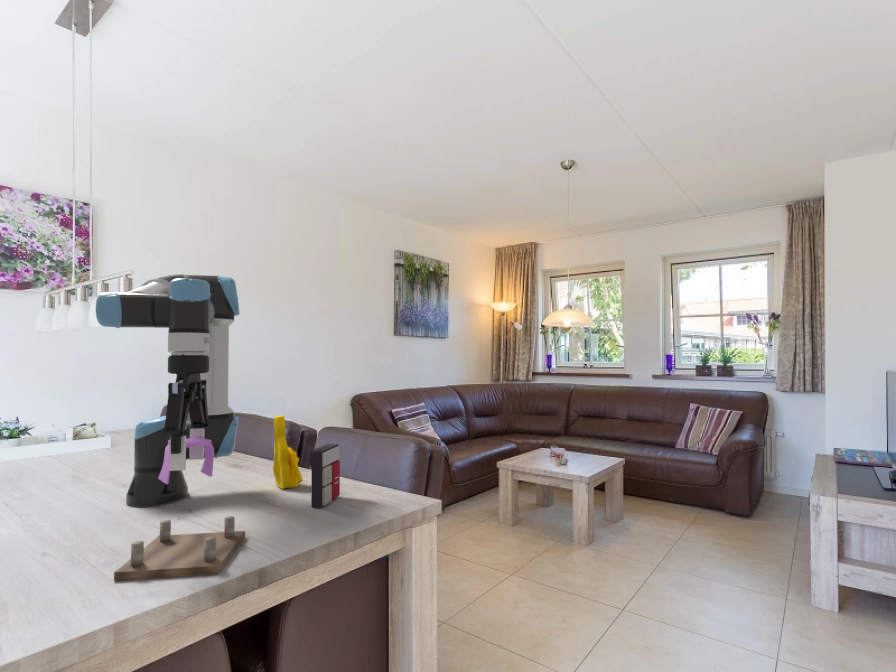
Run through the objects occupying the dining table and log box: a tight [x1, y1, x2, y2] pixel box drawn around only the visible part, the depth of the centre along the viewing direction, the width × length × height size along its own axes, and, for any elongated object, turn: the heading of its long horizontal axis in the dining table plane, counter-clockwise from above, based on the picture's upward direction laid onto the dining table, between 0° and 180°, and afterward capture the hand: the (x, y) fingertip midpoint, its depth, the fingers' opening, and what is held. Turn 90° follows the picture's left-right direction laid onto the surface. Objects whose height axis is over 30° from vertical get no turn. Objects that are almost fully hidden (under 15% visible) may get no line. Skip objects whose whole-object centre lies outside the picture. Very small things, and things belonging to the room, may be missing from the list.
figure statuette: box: [272, 415, 304, 490], centre depth 150 cm, size 18×8×22 cm, turn 37°
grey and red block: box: [309, 443, 341, 509], centre depth 134 cm, size 11×4×15 cm, turn 168°
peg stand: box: [113, 515, 246, 581], centre depth 98 cm, size 18×18×6 cm
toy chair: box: [158, 426, 215, 484], centre depth 98 cm, size 8×9×15 cm
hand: (187, 464), depth 99 cm, fingers closed on toy chair, 9 cm apart
